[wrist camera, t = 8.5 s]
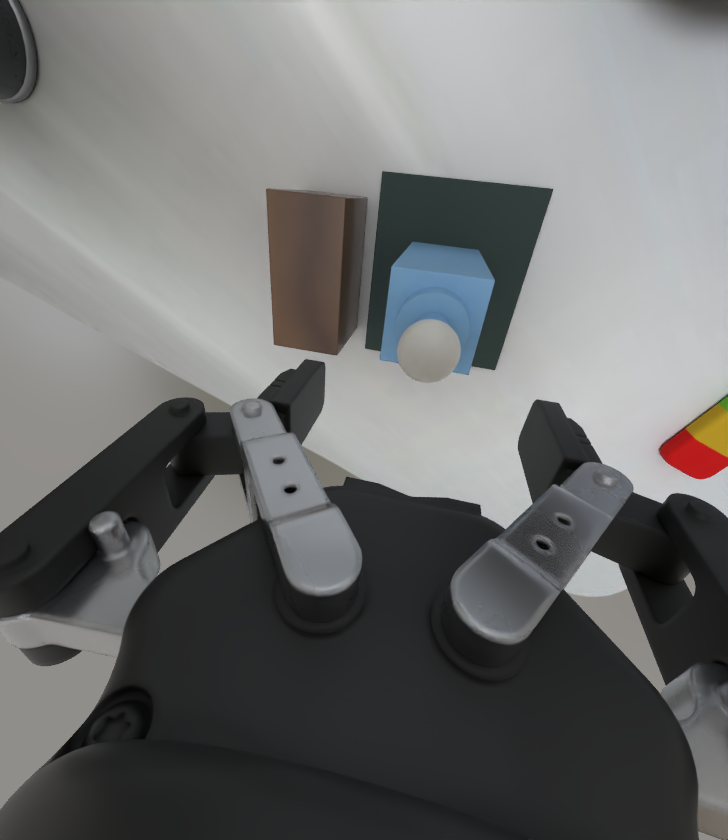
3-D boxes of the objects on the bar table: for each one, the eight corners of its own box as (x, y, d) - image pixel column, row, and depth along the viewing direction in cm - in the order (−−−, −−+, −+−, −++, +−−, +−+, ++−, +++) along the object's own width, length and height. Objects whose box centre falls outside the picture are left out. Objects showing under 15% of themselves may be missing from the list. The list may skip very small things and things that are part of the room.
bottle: (461, 244, 34) (651, 301, 19) (447, 307, 37) (600, 398, 22) (322, 235, 30) (425, 300, 15) (320, 307, 33) (403, 420, 18)
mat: (365, 347, 39) (365, 348, 39) (383, 171, 30) (382, 171, 30) (494, 369, 37) (494, 370, 37) (552, 189, 29) (553, 188, 28)
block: (303, 320, 39) (273, 345, 32) (303, 190, 32) (265, 188, 26) (356, 328, 38) (337, 356, 32) (367, 197, 32) (345, 197, 25)
